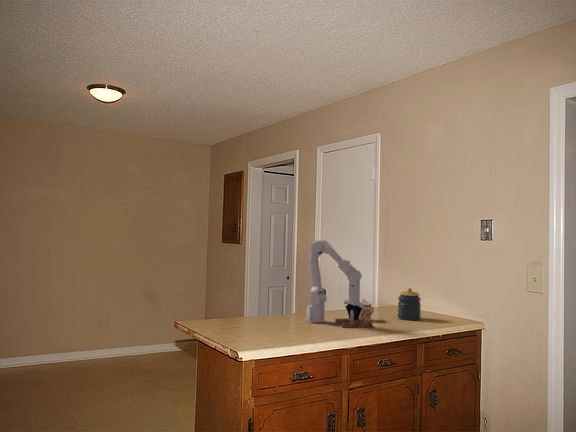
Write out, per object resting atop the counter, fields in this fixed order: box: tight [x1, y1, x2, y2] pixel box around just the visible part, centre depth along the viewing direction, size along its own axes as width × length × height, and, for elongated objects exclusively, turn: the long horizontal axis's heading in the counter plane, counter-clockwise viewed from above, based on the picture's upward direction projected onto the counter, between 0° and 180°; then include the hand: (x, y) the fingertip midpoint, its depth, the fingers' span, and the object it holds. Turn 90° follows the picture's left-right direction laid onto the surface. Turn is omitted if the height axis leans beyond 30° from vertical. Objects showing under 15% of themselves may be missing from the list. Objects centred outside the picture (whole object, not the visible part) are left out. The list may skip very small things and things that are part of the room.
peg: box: [350, 310, 357, 322], centre depth 254 cm, size 3×3×7 cm
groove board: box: [334, 317, 373, 329], centre depth 256 cm, size 16×12×2 cm
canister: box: [397, 287, 422, 321], centre depth 282 cm, size 13×13×18 cm
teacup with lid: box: [359, 298, 375, 321], centre depth 274 cm, size 12×9×12 cm
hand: (353, 319), depth 254 cm, fingers closed on peg, 3 cm apart
